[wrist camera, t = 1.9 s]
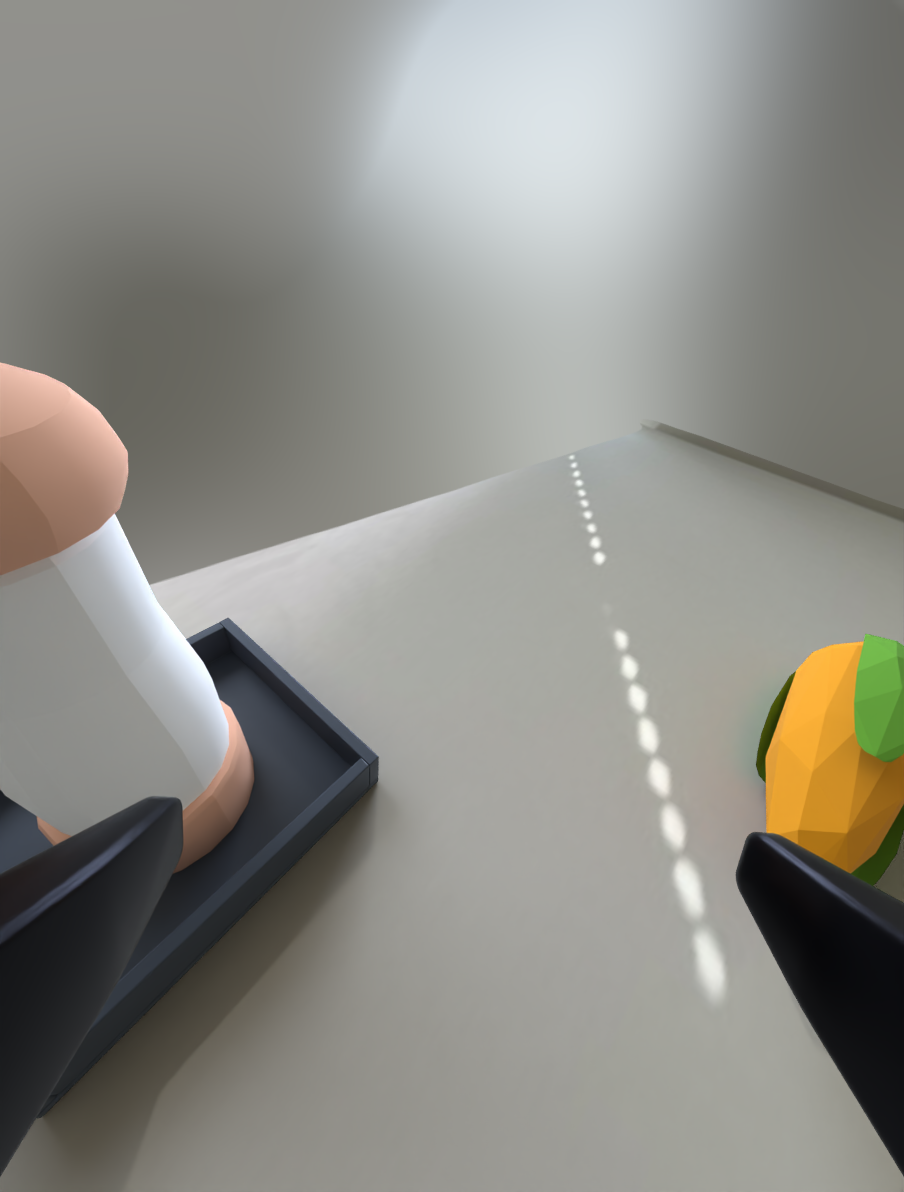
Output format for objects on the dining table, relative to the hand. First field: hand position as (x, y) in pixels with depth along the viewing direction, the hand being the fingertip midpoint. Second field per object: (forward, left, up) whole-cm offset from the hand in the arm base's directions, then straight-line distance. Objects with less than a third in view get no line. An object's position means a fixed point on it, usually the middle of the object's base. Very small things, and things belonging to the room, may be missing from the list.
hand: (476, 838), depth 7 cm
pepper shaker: (-3, +13, -15) cm, 20 cm away
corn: (+22, -12, -15) cm, 29 cm away
